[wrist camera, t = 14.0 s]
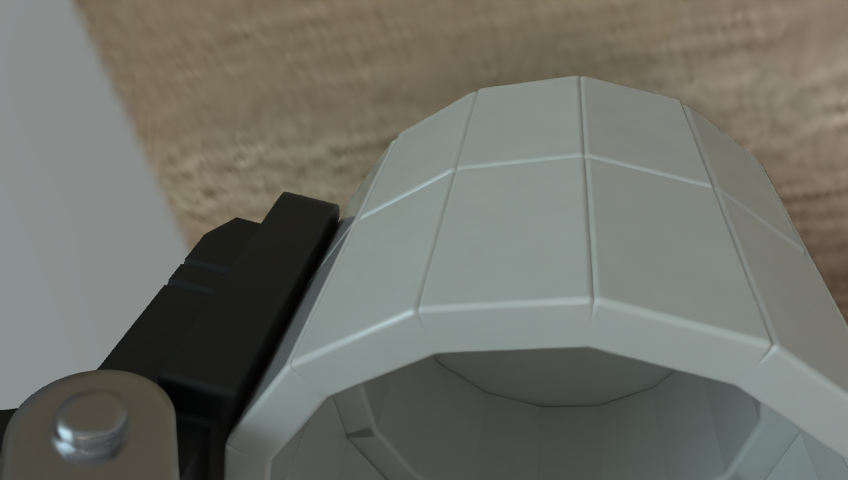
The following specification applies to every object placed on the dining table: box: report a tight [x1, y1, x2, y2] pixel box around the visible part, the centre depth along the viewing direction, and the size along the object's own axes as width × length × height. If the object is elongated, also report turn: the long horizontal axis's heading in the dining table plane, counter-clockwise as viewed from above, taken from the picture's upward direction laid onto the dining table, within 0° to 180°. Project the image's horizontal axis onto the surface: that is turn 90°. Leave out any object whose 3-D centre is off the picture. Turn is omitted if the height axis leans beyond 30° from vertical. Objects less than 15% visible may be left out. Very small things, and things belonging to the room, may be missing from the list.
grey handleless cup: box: [223, 76, 848, 480], centre depth 9 cm, size 6×6×5 cm
